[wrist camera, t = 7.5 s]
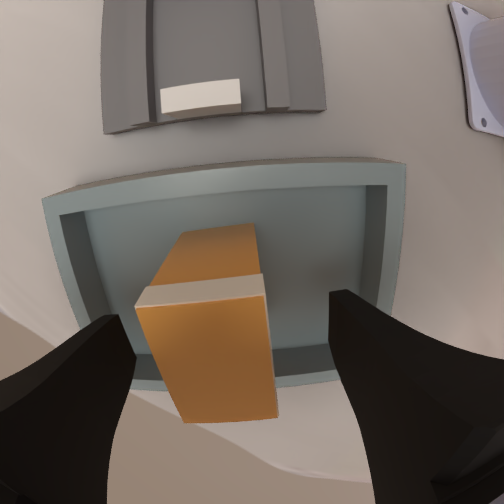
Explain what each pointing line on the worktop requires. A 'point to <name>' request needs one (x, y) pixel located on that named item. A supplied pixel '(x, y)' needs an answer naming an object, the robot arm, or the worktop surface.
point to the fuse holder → (207, 60)
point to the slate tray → (267, 237)
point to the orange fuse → (212, 327)
